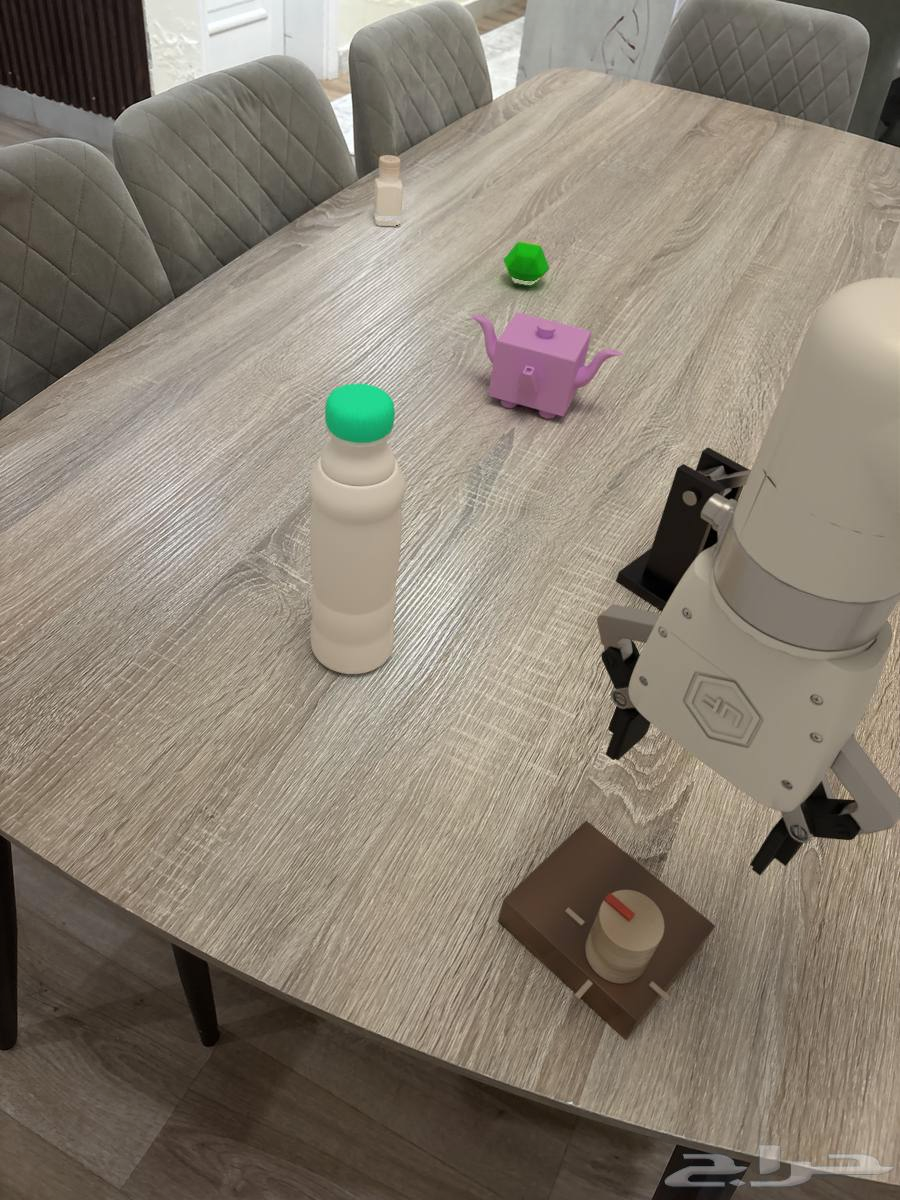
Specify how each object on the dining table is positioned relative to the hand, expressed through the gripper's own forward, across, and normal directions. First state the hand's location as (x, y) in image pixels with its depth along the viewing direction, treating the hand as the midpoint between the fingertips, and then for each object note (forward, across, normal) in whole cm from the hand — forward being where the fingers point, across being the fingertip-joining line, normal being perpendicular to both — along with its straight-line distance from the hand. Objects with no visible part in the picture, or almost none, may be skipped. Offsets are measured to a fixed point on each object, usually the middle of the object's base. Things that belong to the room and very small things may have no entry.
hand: (693, 798), depth 52 cm
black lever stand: (+17, -19, +33) cm, 41 cm away
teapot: (+17, -49, +46) cm, 70 cm away
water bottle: (+17, -32, +4) cm, 37 cm away
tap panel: (+17, -1, -1) cm, 17 cm away
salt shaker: (+18, -97, +67) cm, 119 cm away
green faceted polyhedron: (+18, -71, +71) cm, 102 cm away
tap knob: (+14, +1, -3) cm, 14 cm away
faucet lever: (+1, -12, +33) cm, 35 cm away
